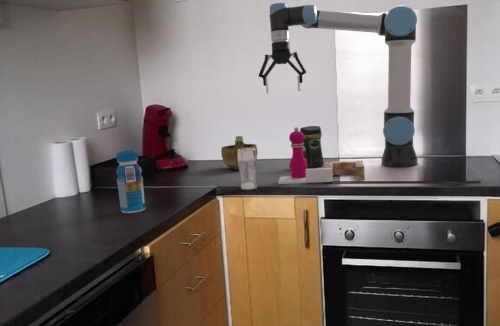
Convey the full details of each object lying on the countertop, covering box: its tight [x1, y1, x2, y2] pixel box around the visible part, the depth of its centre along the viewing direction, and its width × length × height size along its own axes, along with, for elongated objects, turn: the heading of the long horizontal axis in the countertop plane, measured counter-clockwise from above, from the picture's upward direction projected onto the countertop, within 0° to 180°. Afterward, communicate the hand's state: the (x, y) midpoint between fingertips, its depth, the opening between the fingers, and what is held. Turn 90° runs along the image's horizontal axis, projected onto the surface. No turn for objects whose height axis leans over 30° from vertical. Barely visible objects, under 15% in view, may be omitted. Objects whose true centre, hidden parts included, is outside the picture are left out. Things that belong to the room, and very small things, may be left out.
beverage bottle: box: [115, 149, 146, 214], centre depth 163 cm, size 8×8×20 cm
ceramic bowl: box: [220, 135, 258, 171], centre depth 232 cm, size 22×17×15 cm
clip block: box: [324, 160, 366, 181], centre depth 196 cm, size 15×14×5 cm
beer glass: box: [238, 148, 258, 191], centre depth 186 cm, size 7×7×15 cm
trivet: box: [277, 175, 307, 185], centre depth 195 cm, size 11×11×1 cm
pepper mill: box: [288, 126, 308, 178], centre depth 197 cm, size 7×7×20 cm
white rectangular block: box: [305, 167, 334, 184], centre depth 188 cm, size 10×2×5 cm, turn 80°
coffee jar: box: [299, 125, 325, 169], centre depth 224 cm, size 10×8×19 cm
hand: (283, 92), depth 211 cm, fingers open, 13 cm apart
